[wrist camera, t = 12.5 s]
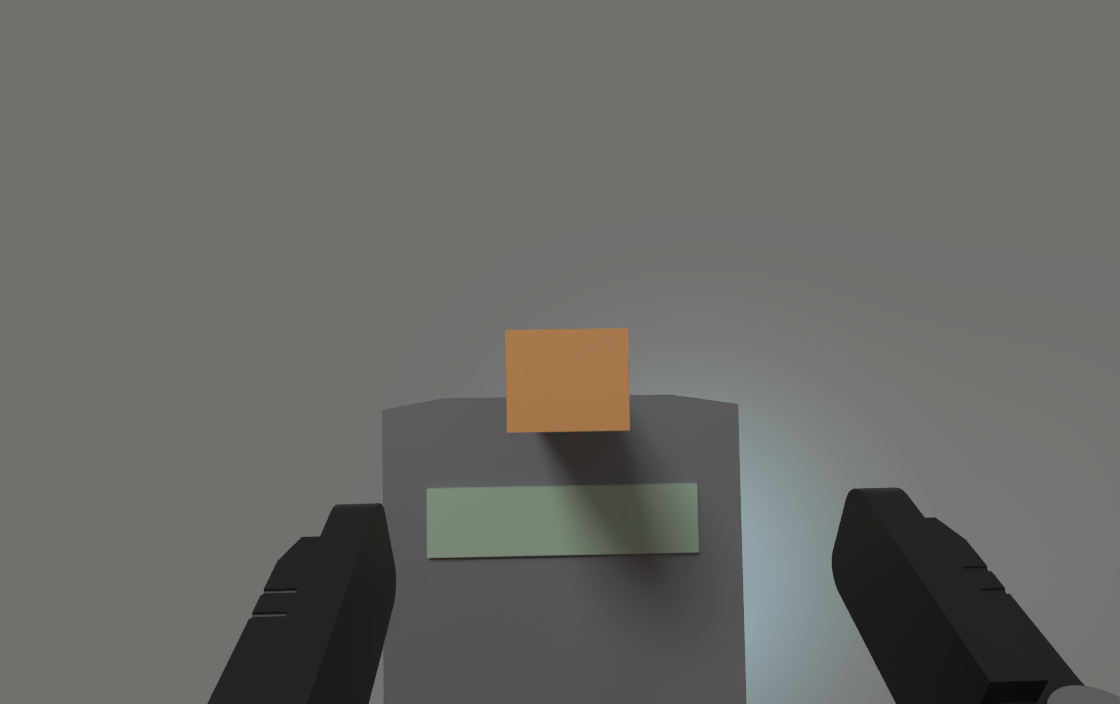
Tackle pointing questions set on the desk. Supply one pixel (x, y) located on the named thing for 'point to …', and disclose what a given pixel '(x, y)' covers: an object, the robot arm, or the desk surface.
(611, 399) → the lever bar
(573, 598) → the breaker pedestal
